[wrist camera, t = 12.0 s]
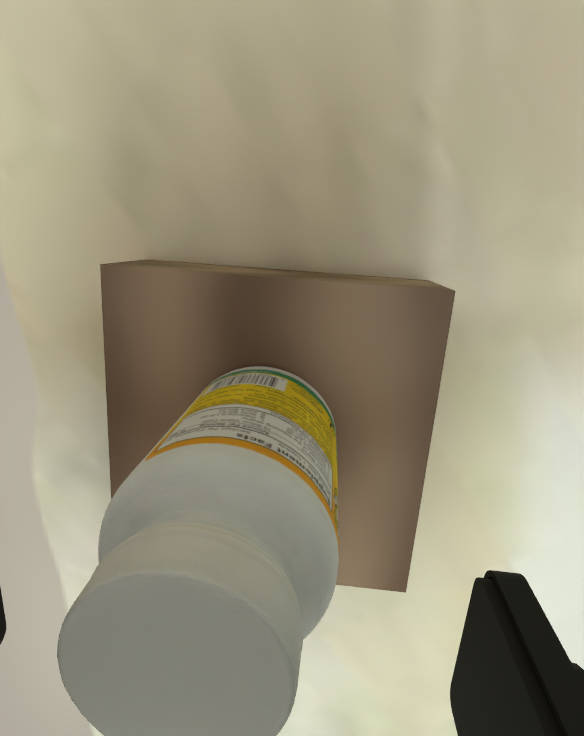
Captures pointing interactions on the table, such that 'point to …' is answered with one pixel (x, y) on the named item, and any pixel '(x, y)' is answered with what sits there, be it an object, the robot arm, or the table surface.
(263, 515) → the supplement bottle
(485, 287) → the table surface
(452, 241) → the table surface
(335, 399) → the walnut stand
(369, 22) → the table surface
